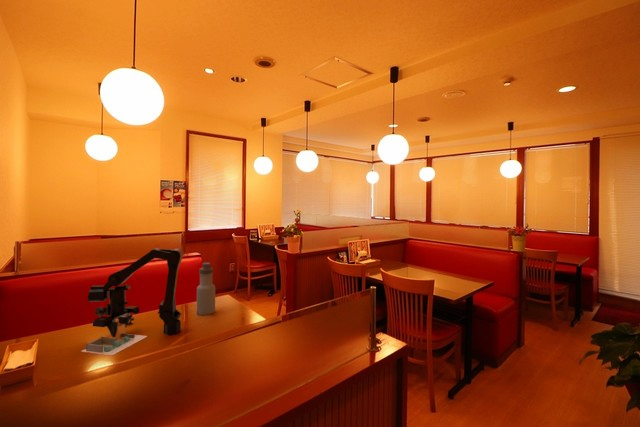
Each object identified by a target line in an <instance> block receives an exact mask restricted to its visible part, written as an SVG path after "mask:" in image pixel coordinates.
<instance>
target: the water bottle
mask: <svg viewBox="0 0 640 427" xmlns="http://www.w3.org/2000/svg"><path fill="white" fill-rule="evenodd" d="M213 271H214V268H213V267H211V263H210V262H203V263H202V267H201V268H199V285H198V286H197V287H196V314H197V315H199V316H208V315H209V316H210V315H211V314H214V313H215V312H216V286H215V284H213Z"/></svg>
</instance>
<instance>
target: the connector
mask: <svg viewBox="0 0 640 427" xmlns="http://www.w3.org/2000/svg"><path fill="white" fill-rule="evenodd" d="M135 335H136V334H133V335H132V334H131V333H126V328H125V324H121V323H118V326H117V331H116V335H115V337H112V335H111V333H110V332H109V338H115V339H120V338H122V337H129V338H134V337H135Z"/></svg>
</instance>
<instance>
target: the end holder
mask: <svg viewBox="0 0 640 427" xmlns="http://www.w3.org/2000/svg"><path fill="white" fill-rule="evenodd" d="M115 341H116V339H115V338H110V337H103V336H101V337H100V338H96V339H95V340H93V341H91V342H88V343H85V346H86V347H85V349H86V351H94V352H103V345H101V344H107V345H113V342H115Z"/></svg>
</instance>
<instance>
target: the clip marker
mask: <svg viewBox="0 0 640 427" xmlns="http://www.w3.org/2000/svg"><path fill="white" fill-rule="evenodd" d="M128 341H129V337H124V341H122V342H121V341H115V342H119V346H120V345H122V344H124V343H126V342H128Z"/></svg>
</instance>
